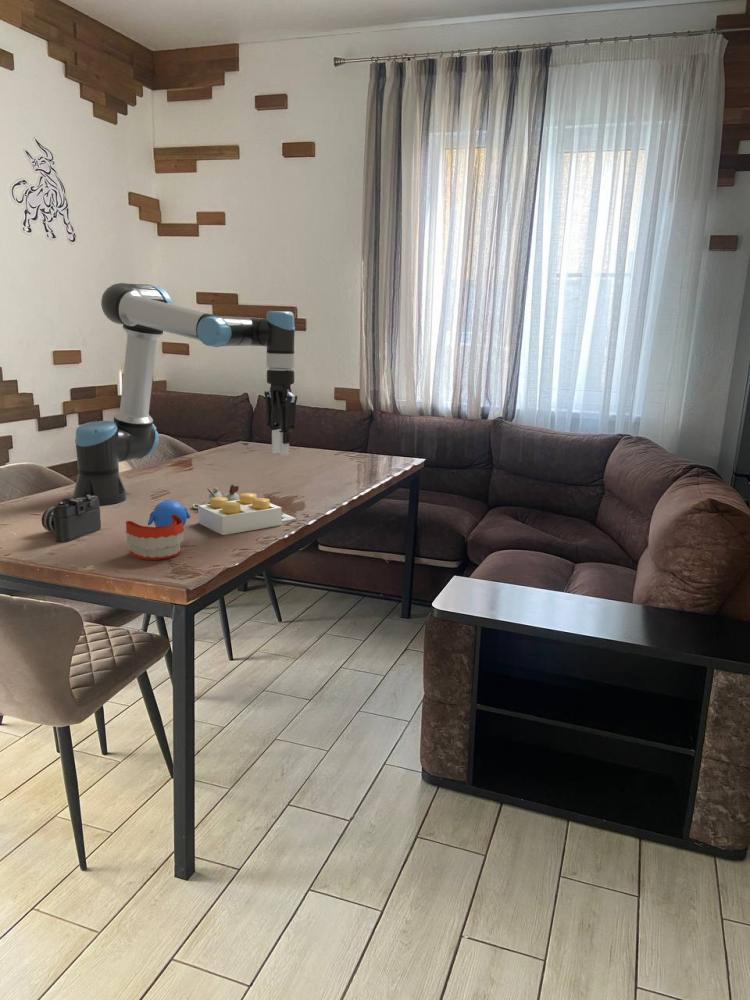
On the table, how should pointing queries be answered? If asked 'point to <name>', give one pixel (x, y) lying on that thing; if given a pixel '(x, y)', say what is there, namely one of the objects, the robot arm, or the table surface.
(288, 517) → the card
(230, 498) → the toy dog
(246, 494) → the button far right
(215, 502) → the button far left
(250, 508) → the button board
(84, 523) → the camera
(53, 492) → the table surface
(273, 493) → the table surface
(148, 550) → the toy
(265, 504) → the button near right
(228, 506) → the button near left
